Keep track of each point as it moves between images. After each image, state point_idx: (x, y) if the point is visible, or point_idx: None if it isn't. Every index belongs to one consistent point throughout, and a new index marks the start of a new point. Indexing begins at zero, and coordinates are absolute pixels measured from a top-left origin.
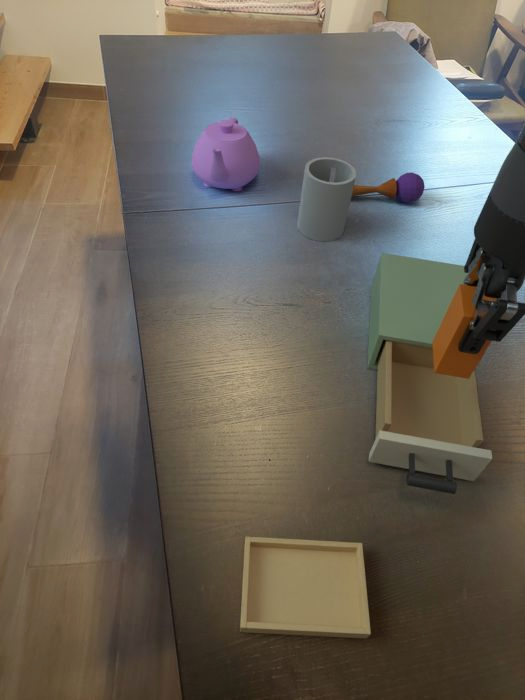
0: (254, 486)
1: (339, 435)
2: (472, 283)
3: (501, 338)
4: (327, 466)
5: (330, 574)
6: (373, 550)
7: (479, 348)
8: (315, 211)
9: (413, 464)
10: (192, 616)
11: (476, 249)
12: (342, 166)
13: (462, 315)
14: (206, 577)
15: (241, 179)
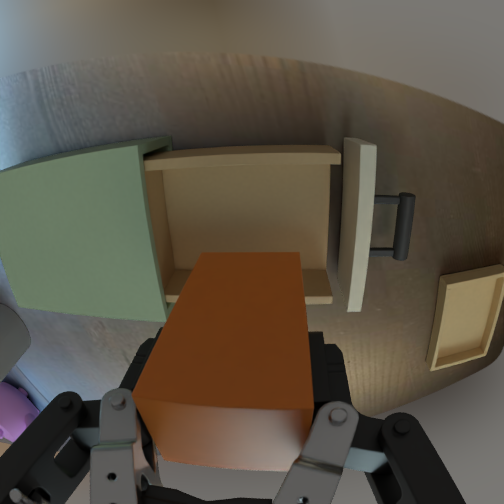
0: (377, 367)
1: (308, 305)
2: (154, 453)
3: (423, 435)
4: (352, 313)
5: (460, 299)
6: (441, 261)
7: (344, 366)
8: (10, 360)
9: (380, 252)
10: (465, 372)
11: (68, 494)
12: None
13: None
14: (444, 374)
15: (19, 401)
